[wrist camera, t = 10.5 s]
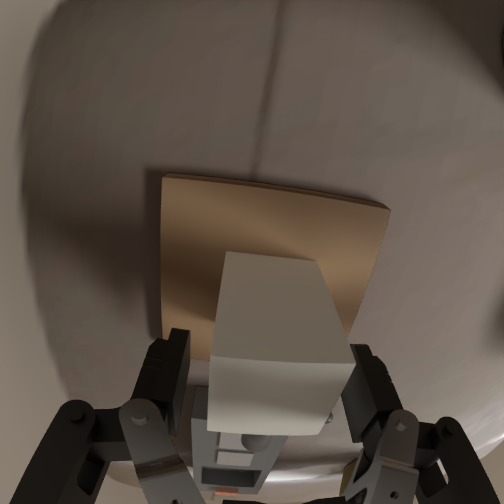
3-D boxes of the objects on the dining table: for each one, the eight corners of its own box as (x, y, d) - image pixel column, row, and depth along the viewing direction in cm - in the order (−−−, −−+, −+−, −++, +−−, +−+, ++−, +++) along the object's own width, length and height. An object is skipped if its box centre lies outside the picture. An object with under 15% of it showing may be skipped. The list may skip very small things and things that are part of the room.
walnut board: (168, 173, 14) (162, 177, 13) (383, 204, 15) (391, 210, 14) (167, 344, 19) (164, 354, 18) (330, 359, 19) (333, 369, 18)
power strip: (196, 385, 21) (189, 424, 17) (341, 393, 21) (350, 430, 18) (196, 468, 28) (193, 493, 25) (291, 473, 29) (293, 498, 25)
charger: (226, 250, 15) (210, 355, 8) (316, 261, 15) (356, 363, 9) (217, 352, 18) (206, 453, 11) (290, 358, 18) (303, 457, 12)
